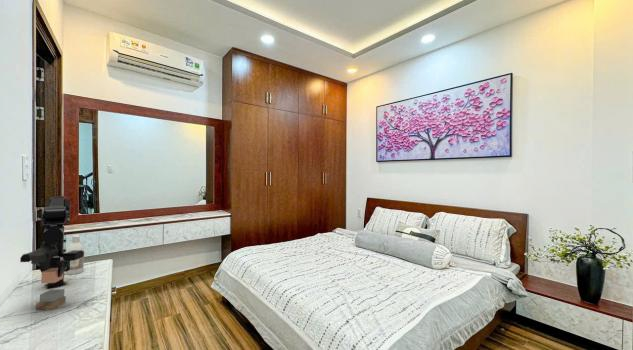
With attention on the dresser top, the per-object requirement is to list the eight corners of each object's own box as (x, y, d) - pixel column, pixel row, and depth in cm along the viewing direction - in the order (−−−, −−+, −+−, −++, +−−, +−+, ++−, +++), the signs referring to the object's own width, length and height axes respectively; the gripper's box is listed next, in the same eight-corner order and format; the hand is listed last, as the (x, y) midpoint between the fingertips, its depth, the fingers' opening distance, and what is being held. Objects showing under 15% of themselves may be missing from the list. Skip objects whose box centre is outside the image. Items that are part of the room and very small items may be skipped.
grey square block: (39, 302, 103) (39, 294, 103) (50, 296, 108) (51, 289, 108) (53, 301, 104) (54, 294, 104) (64, 296, 109) (64, 289, 109)
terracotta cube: (41, 283, 103) (41, 272, 103) (50, 279, 108) (51, 268, 108) (54, 282, 104) (54, 271, 104) (63, 278, 108) (63, 267, 109)
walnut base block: (35, 311, 102) (36, 303, 102) (48, 304, 108) (49, 296, 108) (53, 310, 103) (53, 302, 103) (65, 303, 109) (65, 296, 109)
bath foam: (64, 276, 137) (65, 237, 137) (67, 271, 142) (69, 235, 143) (81, 273, 140) (83, 236, 141) (84, 269, 146) (85, 234, 147)
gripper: (7, 244, 97) (5, 286, 96) (65, 242, 100) (63, 283, 100) (33, 237, 108) (32, 275, 107) (85, 236, 111) (84, 273, 111)
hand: (52, 277), depth 106 cm, fingers closed on terracotta cube, 4 cm apart
